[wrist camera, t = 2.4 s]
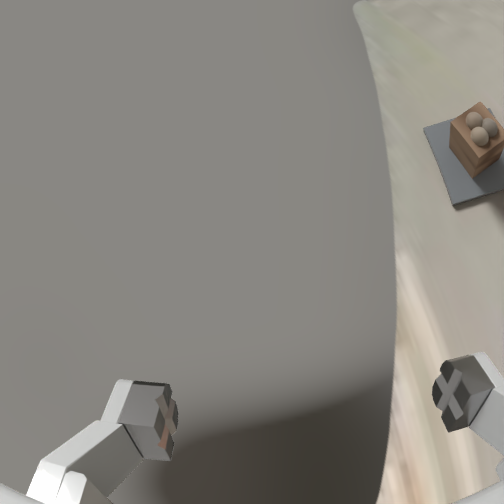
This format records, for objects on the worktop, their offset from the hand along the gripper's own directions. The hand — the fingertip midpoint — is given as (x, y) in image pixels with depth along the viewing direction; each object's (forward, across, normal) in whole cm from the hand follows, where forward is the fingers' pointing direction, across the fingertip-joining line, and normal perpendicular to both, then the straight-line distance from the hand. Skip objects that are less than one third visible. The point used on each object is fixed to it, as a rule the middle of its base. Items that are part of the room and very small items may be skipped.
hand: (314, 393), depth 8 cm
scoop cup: (+32, -29, -4) cm, 43 cm away
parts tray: (+33, -30, -3) cm, 44 cm away
